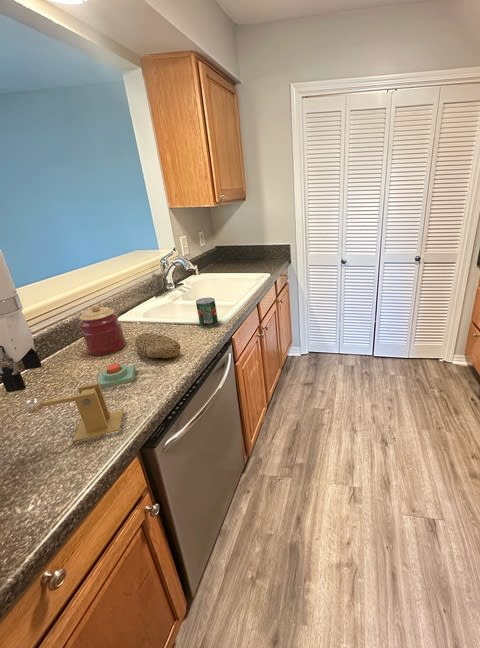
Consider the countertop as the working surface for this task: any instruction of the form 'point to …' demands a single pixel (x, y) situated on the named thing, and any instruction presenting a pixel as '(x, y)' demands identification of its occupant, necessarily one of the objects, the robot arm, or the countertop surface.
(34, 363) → the robot arm
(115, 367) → the button
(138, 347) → the speckled river stone
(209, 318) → the canned tomato
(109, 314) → the kitchen canister
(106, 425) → the bracket
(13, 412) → the countertop surface
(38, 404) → the tap lever
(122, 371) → the switch block
